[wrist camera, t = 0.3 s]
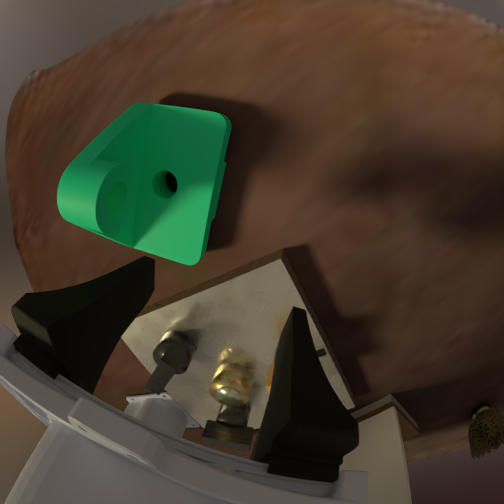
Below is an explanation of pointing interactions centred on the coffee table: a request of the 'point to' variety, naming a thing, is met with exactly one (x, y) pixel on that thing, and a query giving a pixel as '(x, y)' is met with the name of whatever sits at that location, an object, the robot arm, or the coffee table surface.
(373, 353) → the coffee table surface
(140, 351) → the base
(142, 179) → the camera mount
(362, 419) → the white dispenser tower
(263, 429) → the robot arm
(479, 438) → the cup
